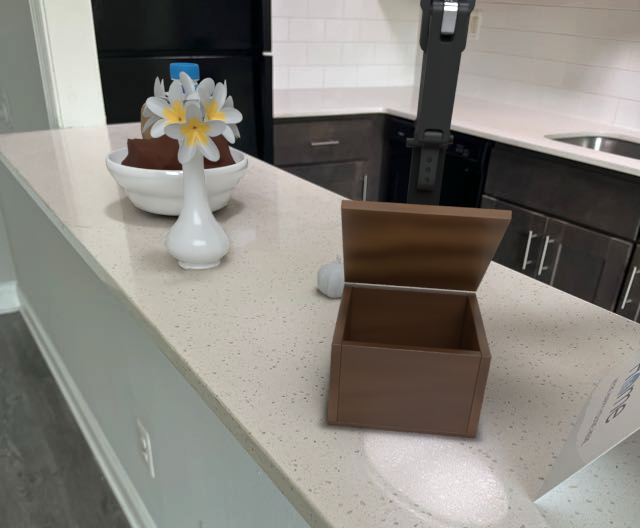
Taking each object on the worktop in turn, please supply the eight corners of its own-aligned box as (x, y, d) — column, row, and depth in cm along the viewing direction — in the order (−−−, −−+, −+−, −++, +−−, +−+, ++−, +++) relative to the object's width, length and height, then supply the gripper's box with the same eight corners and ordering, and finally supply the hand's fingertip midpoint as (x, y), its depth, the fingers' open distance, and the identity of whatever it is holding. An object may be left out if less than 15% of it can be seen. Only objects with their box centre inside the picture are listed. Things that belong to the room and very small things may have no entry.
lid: (511, 219, 53) (512, 210, 53) (340, 208, 54) (341, 199, 54) (476, 292, 68) (476, 284, 68) (344, 282, 69) (344, 275, 69)
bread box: (474, 442, 61) (491, 356, 56) (327, 429, 62) (331, 344, 57) (462, 367, 73) (476, 292, 68) (339, 358, 74) (344, 282, 69)
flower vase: (174, 293, 88) (155, 85, 75) (146, 250, 102) (126, 69, 88) (265, 282, 93) (263, 84, 79) (227, 242, 107) (219, 69, 93)
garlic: (328, 284, 93) (329, 248, 90) (362, 292, 91) (365, 255, 88) (308, 298, 88) (309, 260, 86) (343, 306, 86) (346, 268, 84)
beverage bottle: (207, 158, 161) (202, 66, 150) (172, 158, 160) (164, 65, 149) (207, 151, 168) (202, 62, 157) (173, 151, 167) (166, 61, 156)
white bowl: (103, 197, 127) (91, 112, 119) (227, 190, 136) (224, 110, 128) (124, 235, 108) (111, 137, 100) (267, 223, 117) (266, 132, 109)
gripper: (531, -134, 39) (468, 251, 52) (504, -105, 50) (458, 208, 63) (406, -137, 40) (374, 244, 53) (407, -108, 51) (380, 203, 64)
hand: (420, 224), depth 58 cm, fingers closed
